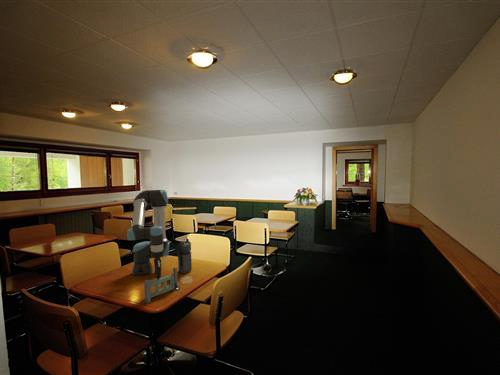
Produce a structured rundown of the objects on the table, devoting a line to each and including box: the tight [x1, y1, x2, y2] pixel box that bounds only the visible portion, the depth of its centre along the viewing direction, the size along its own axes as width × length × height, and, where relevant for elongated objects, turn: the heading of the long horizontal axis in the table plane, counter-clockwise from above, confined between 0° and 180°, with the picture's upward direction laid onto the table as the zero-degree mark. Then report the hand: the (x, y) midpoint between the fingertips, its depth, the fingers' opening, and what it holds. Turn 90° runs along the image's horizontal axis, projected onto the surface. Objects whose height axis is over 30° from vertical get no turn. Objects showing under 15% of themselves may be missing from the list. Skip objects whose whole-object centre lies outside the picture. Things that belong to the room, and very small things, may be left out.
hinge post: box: [171, 266, 181, 292], centre depth 164 cm, size 6×6×15 cm
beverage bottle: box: [177, 238, 193, 274], centre depth 194 cm, size 10×13×25 cm
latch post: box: [142, 279, 152, 304], centre depth 147 cm, size 3×3×13 cm
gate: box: [150, 273, 175, 298], centre depth 157 cm, size 17×3×9 cm, turn 139°
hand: (158, 286), depth 160 cm, fingers closed
